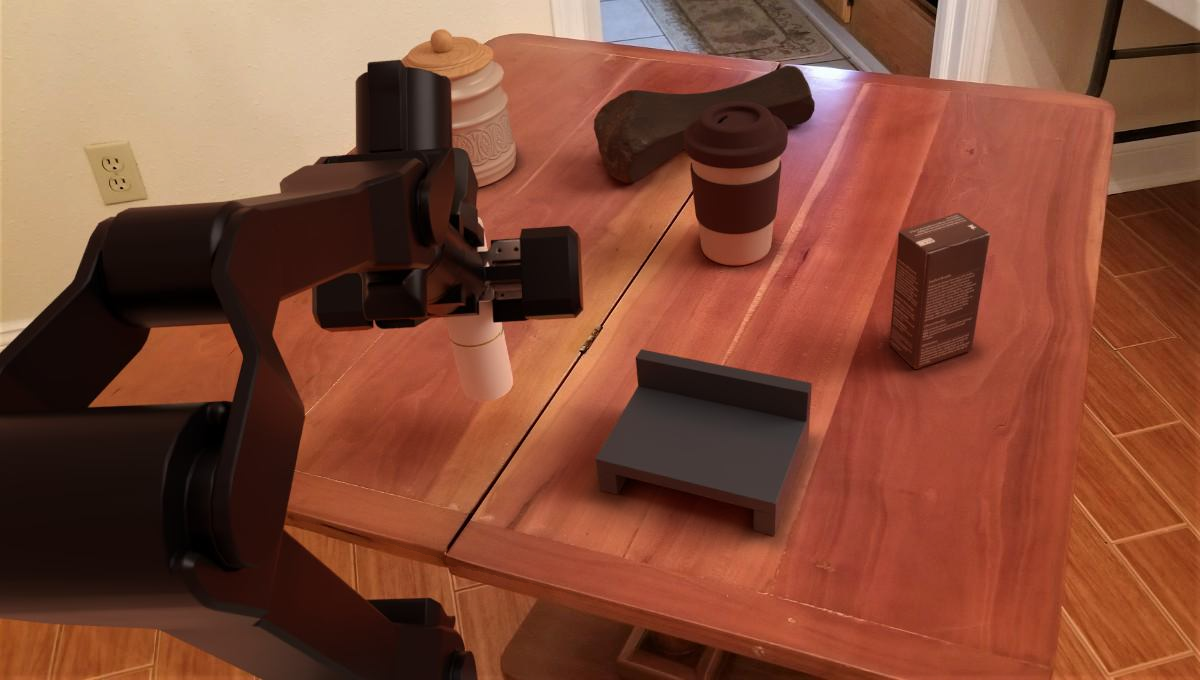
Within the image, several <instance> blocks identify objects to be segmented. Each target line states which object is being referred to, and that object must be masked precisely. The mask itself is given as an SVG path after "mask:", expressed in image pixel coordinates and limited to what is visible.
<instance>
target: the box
mask: <svg viewBox="0 0 1200 680" xmlns="http://www.w3.org/2000/svg"><path fill="white" fill-rule="evenodd" d="M990 237H991V233H990V232H989V231H988V230H986V229H985V228H983V227H981V226H980V225H978V224H977V223H975V222H973V220H971V219H969V218H968V217H966V216H965V215H963V214H962V213H960V212H956V213H953V214H949V215H946V216H943V217H940V218H937V219H933V220H929V221H927V222H923V223H920V224H917V225H914V226H910V227H907V228H903V229H899V230H898V239H897V249H896V250H897V251H896V263H895V275H894V285H893V295H892V307H891V318H890V331H889V342H888V343H889V346H891V347H892V349H893V350H894V351H895V352H897V354H898V355H899V356H900V357H901V358H902V359H904V361H906V362H907V364H909V366H911V367H913V369H915V370H917V369H920V368H924V367H927V366H929V365H932V364H935V363H938V362H941V361H944V360H948V359H949V358H953V357H955V356H958V355H961V354H964V353H968V352H971V351H972V350H973V345H974V339H975V332H976V326H977V320H978V315H979V314H978V312H979V306H980V301H981V295H982V289H983V281H984V275H985V268H986V263H987V256H988V251H989V243H990Z"/></svg>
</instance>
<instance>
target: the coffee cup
mask: <svg viewBox="0 0 1200 680" xmlns="http://www.w3.org/2000/svg"><path fill="white" fill-rule="evenodd" d="M788 135H789V131H788V126H787V125H785V123H784V122H783V121H782V120H780V119H779V118H778V117H776V116H773V115H771V113H770V111H769V110H768V109H767V108H765V107H764V106H761V105H759V104H756V103H751V102H743V101H735V102H725V103H720V104H717V105H714V106H711V107H710V108H708V109H706V110H705V111H703V113H702V114H701V115H700V117H699V118H697V119H696V120H694V121H693V122H691V123H690V124H689V125H688V126H687V128H686V129H685V131H684V148H685V149H684V151H685V153H686V155H687V156H688V157H689V158H690V159H691V162H690V177H691V179H690V180H691V186H692V197H693V204H694V214H695V218H696V220H697V222H698V230H699V231H698V232H699V239H700V247H701V250H702V252H703V254H704V255H705V257H707V258H708V259H709V260H711V261H713V262H715V263H717V264H721V265H726V266H745V265H750V264H753V263H755V262H758V261H760V260H761V259H763V258H764V257H766V256H767V254H768V253H769V252H770V250H771V248H772V243H773V241H772V240H773V233H774V232H773V230H774V223H775V222H774V221H775V218H776V216H777V213H778V202H779V195H780V183H781V174H782V161H781V155H783V153H784V152H785V151H786V150H787V147H788Z"/></svg>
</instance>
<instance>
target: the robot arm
mask: <svg viewBox="0 0 1200 680" xmlns="http://www.w3.org/2000/svg"><path fill="white" fill-rule="evenodd" d="M401 60H402V59H392V60H391V59H390V60H378V61H368V63H366V65H367V69H366V70H367V71H366V72H363V73H361V74H360V75H359V76H357V78H356V80H355V153H353V154H352V153H351V154H340V155H324V156H320V157H319V158H318V159H317V160H316V161H315V162H314V163H313V164H306V165H303V166H301V167H300V168H298V169H296V170H295V171H293V172H291V173H290V174H288V175H287V176H285V177H283V178H282V179H281V180H280V181H279V184H278V185H279V190H280V192H278V193H272V194H264V195H259V196H252V197H246V198H245V197H244V198H238V199H232V200H225V201H213V202H211V201H210V202H197V203H181V204H169V205H168V204H167V205H165V204H164V205H152V206H151V205H150V206H138V207H137V206H135V207H128V208H126V209H124V210H122V211H120V212H117V214H116V215H115V216H109V217H107V218H105V219H103V220H101V221H100V222H98V223H97V224H96V226H95V228H94V229H93V231H92V233H91V234H90V236H89V239H88V241H87V244H86V245H85V246H86V247H85V249H84V251H83V254H82V257H81V260H80V262H79V265H78V267H77V270H76V273H75V275H74V278H73V280H72V281H71V283H69V284H68V285H67V286H66V288H65V289H64V290H62V291H61V292H60V293H59V294H58V295H57V296H56V297H55V298H54V299H53V300H52V301H51V302H50V303H49V304H48V305H47V306H46V307H45V308H44V309H43V310H42V311H40V313H39V314H38V315H37V316H36V317H34V319H33V320H32V321H31V322H30V323H29V324H28V325H27V326H26V327H25V328H24V329H23V330H22V331H21V332H20V333H18V334H17V336H16V337H14V339H12V341H10V342H9V344H7V346H5V347H4V348H3V349H2V350H1V351H0V619H2V620H11V621H20V622H28V623H29V622H31V623H38V624H47V625H48V624H49V625H64V626H66V625H67V626H84V627H85V626H87V627H107V628H108V627H109V628H127V629H128V628H129V629H131V628H132V629H148V630H158V631H160V632H163V633H165V634H167V635H169V636H171V637H173V638H175V639H178V640H179V641H181V642H183V643H186V644H188V645H189V646H192V647H194V648H195V649H198V650H200V651H201V652H203V653H205V654H208V655H210V656H212V657H215V658H217V659H218V660H220V661H223V662H225V663H227V664H229V665H231V666H232V667H234V668H237V669H239V670H241V671H243V672H245V673H248V674H250V675H251V676H253V677H256V678H258V679H259V680H479V678H478V671H477V665H476V659H475V655H474V653H473V652H472V651H471V650H466V645H465V642H464V639H463V638H462V635H461V633H459V632H458V631H457V630H456V629H455V626H456V619H457V617H456V615H448V614H447V613H446V611H445V609H444V607H443V605H442V603H441V602H439V601H437V600H435V599H433V598H432V597H408V598H407V597H406V598H405V597H404V598H373V599H371V598H369V599H368V598H367V599H366V598H365V597H363V595H361V594H360V593H359V592H358V591H357V590H356V589H354V588H353V587H352V586H350V584H348V583H347V582H346V581H345V580H344V579H343V578H342V577H340V576H339V575H338V574H337V573H336V572H335V571H333V570H332V569H331V568H330V567H329V566H328V565H327V564H325V563H324V562H323V561H322V560H321V559H320V558H319V557H317V555H315V554H314V553H312V552H311V551H310V549H308V548H307V547H306V546H304V545H303V544H302V543H301V542H300V541H299V540H298V539H296V538H295V537H294V536H293V535H292V534H291V533H289V532H288V530H286V529H285V525H286V524H285V523H286V518H287V514H288V513H287V511H288V506H289V502H290V496H291V493H292V486H293V481H294V476H295V472H296V465H297V461H298V457H299V456H298V455H299V450H300V446H301V441H302V435H303V431H304V425H305V421H306V410H305V405H304V403H303V400H302V398H301V395H300V394H299V391H298V389H297V387H296V385H295V382H294V380H293V378H292V376H291V373H290V371H289V369H288V367H287V364H286V362H285V361H284V358H283V355H282V354H281V352H280V349H279V347H278V345H277V342H276V340H275V338H274V334H273V333H274V329H275V325H276V320H277V316H278V311H279V307H280V303H281V302H283V301H285V300H287V299H290V298H292V297H295V296H296V295H299V294H301V293H303V292H304V293H305V292H306V291H309V290H311V314H312V316H313V319H314V322H315V324H317V325H318V326H319V328H321V329H322V330H324V331H327V332H330V333H340V332H341V333H343V332H344V333H345V332H360V331H368V330H369V331H370V330H372V329H374V324H375V325H376V327H377V328H378V329H381V330H391V329H393V330H394V329H409V328H410V329H411V328H412V329H413V328H416V327H418V326H420V325H421V324H423V323H425V322H427V321H429V320H430V319H437V318H438V319H439V318H444V317H459V316H475V315H479V302H488V301H492V305H493V322H494V323H498V322H502V323H511V322H527V321H529V320H533V321H546V320H547V321H548V320H550V321H551V320H563V319H564V320H565V319H576V318H577V317H578V316H580V315H581V313H582V312H583V311H584V310H585V309H584V290H583V289H584V288H583V265H582V247H581V246H582V242H581V237H580V235H579V233H578V232H577V231H576V230H575V229H574V228H573V227H572V226H570V225H558V226H557V225H556V226H544V227H543V226H541V227H529V228H528V227H526V228H521V230H520V235H519V237H515V238H499V239H490V246H489V249H488V251H481V252H478V247H484V233H485V228H484V226H483V227H482V226H481V225H480V224H479V223H478V217H479V210H478V208H477V201H478V190H479V187H478V181H477V178H476V176H475V173H474V170H473V167H472V164H471V161H470V158H469V155H468V153H467V152H466V151H465V150H464V149H461V148H453V147H452V96H451V82H450V80H449V78H448V77H447V76H441V75H439V74H436V73H434V72H431V71H428V70H424V69H419V68H412V67H405V66H404V64H403V63H402V61H401ZM483 228H484V229H483ZM487 262H488V263H489V266H488V267H485V266H486V265H487ZM485 285H490V290H488V287H485V288H484V286H485ZM483 289H484V291H483ZM228 324H229V327H230V329H231V331H232V333H233V336H234V338H235V340H236V343H237V345H238V348H239V350H240V352H241V354H242V361H241V365H240V370H239V373H238V377H237V382H236V386H235V389H234V393H233V396H232V397H233V398H232V401H228V400H211V401H191V402H170V403H169V402H167V403H150V404H149V403H147V404H127V405H126V404H125V405H107V406H105V405H103V406H90V405H91V404H93V402H95V400H96V399H97V398H98V397H99V396H100V395H101V394H102V393H103V392H104V390H106V388H107V387H109V385H110V384H111V383H112V382H113V381H114V380H115V379H116V377H118V376H119V375H120V373H121V372H122V371H123V370H124V369H126V367H127V366H128V365H129V364H130V363H131V362H132V361H133V359H134V358H135V357H136V356H137V355H138V354H139V353H141V352H142V349H143V348H144V347H145V345H146V343H147V341H148V339H149V337H150V333H151V329H157V328H159V329H160V328H173V327H192V326H194V327H195V326H213V325H228Z"/></svg>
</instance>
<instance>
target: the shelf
mask: <svg viewBox="0 0 1200 680" xmlns="http://www.w3.org/2000/svg"><path fill="white" fill-rule="evenodd" d="M635 368H636V378H637V387H636V389H635V390H634V392H633V394H632V396H631V397H630V399H629V401H628V402H627V404H626V406H625V408H624V409H623V411H622V412H621V415H620V416H619V418H618V419H617V421H616V423H615V425H614V426H613V428H612V430H611V431H610V433H609V434H608V436H607V438H606V440H605V442H604V443H603V445H602V446H601V448H600V450H599V452H598V454H597V455H596V457H595V458H594V461H595V467H596V475H597V481H598V488H599V490H600V492H601V491H602V492H606V493H609V494H614V495H619V494H620V492H621V489H622V488H623V486H624V484H625V482H626V480H627V479H628V478H629V479H632V480H636V481H639V482H644V483H648V484H652V485H656V486H659V487H664V488H668V489H672V490H675V491H680V492H684V493H688V494H691V495H696V496H699V497H704V498H707V499H711V500H714V501H720V502H723V503H727V504H731V505H735V506H739V507H742V508H747V509H751V510H753V531H754V532H757V533H761V534H765V535H769V536H772V537H775V536H776V535H777V531H778V529H779V526H780V523H781V521H782V518H783V516H784V512H785V509H786V506H787V503H788V501H789V498H790V495H791V494H792V493H791V492H792V490H793V487H794V484H795V481H796V479H797V476H798V474H799V470H800V468H801V465H802V463H803V459H804V457H805V454H806V451H807V449H808V446H809V440H810V439H809V436H810V419H811V403H812V387H813V384H812V382H810V381H809V382H808V381H804V380H799V379H794V378H788V377H784V376H778V375H774V374H768V373H764V372H758V371H754V370H748V369H743V368H738V367H733V366H727V365H723V364H718V363H713V362H707V361H702V360H697V359H693V358H688V357H682V356H677V355H673V354H666V353H661V352H656V351H652V350H646V349H642V348H641V349H640V350H639V351H638V353H637V355H636V356H635Z"/></svg>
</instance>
